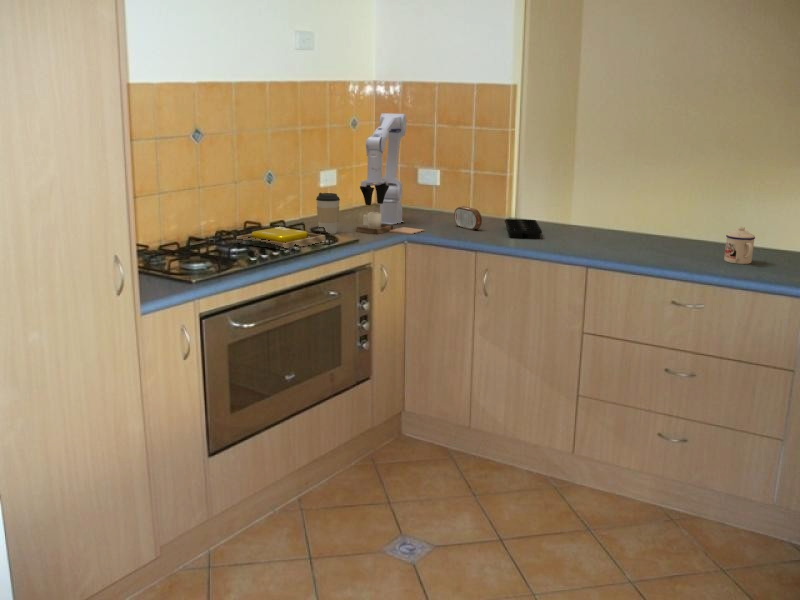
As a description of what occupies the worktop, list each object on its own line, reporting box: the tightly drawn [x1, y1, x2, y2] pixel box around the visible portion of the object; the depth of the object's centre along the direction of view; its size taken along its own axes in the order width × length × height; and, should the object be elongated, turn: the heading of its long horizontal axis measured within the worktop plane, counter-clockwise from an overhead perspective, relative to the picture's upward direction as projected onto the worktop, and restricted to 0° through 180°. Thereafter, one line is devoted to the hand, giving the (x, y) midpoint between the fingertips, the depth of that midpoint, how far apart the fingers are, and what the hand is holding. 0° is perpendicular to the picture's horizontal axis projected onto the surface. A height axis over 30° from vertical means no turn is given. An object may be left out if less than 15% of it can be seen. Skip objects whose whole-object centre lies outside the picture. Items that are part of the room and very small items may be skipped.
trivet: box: [388, 226, 426, 236], centre depth 334 cm, size 10×10×1 cm
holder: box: [356, 224, 394, 235], centre depth 334 cm, size 11×9×2 cm
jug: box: [362, 211, 381, 229], centre depth 334 cm, size 8×5×7 cm, turn 57°
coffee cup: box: [315, 192, 341, 235], centre depth 327 cm, size 9×9×15 cm
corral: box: [236, 232, 326, 248], centre depth 305 cm, size 22×22×2 cm
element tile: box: [251, 226, 309, 243], centre depth 305 cm, size 15×15×5 cm
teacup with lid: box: [723, 226, 756, 265], centre depth 287 cm, size 12×9×12 cm
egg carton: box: [504, 218, 543, 240], centre depth 338 cm, size 18×30×4 cm, turn 8°
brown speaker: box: [453, 205, 483, 231], centre depth 344 cm, size 15×3×8 cm, turn 34°
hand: (374, 204), depth 331 cm, fingers open, 7 cm apart
